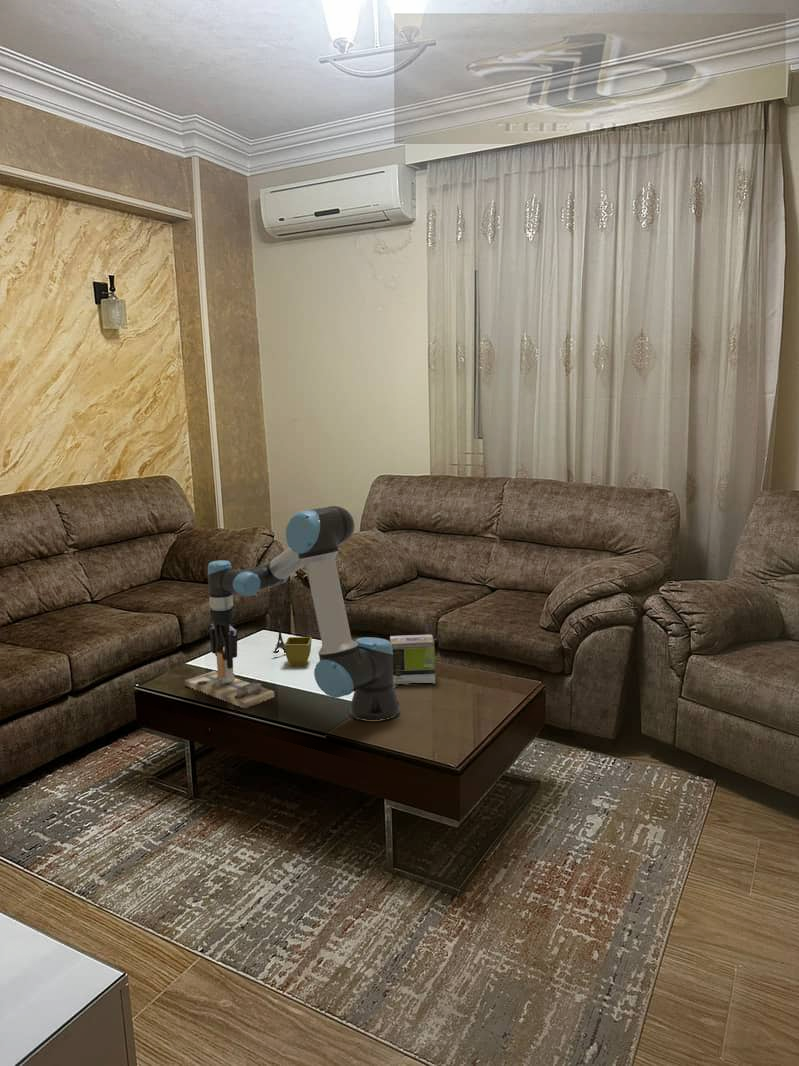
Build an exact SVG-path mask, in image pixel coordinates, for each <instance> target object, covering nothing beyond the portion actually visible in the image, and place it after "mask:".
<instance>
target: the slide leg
mask: <svg viewBox="0 0 799 1066" xmlns="http://www.w3.org/2000/svg"><path fill="white" fill-rule="evenodd" d="M224 658H226V657H225V650H222V651H219V652H217V656H216V665H217V672H218V675H217V680H215V679H212V680H211V686H212V687H215V686H216V684H222V685H224V684H227V683H229V682H232V681H235V678H236V677H235V676H236V675H235V673H234V672H233V677H230V678H227V679H226V678H225V667H224Z"/></svg>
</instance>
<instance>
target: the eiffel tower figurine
mask: <svg viewBox="0 0 799 1066" xmlns="http://www.w3.org/2000/svg"><path fill="white" fill-rule="evenodd" d="M278 620H279V621H278V638H277V643H276V644H275V648H274V649H275V651H274V650H273V652H272V654H273V653H278V652H279V650H278V651H276V650H277V649H283V650H284V653H286V651H285V642H284V640H283V637H282V629H281V620H280V619H278ZM274 659H277V658H276V657H275V658H274Z"/></svg>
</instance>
